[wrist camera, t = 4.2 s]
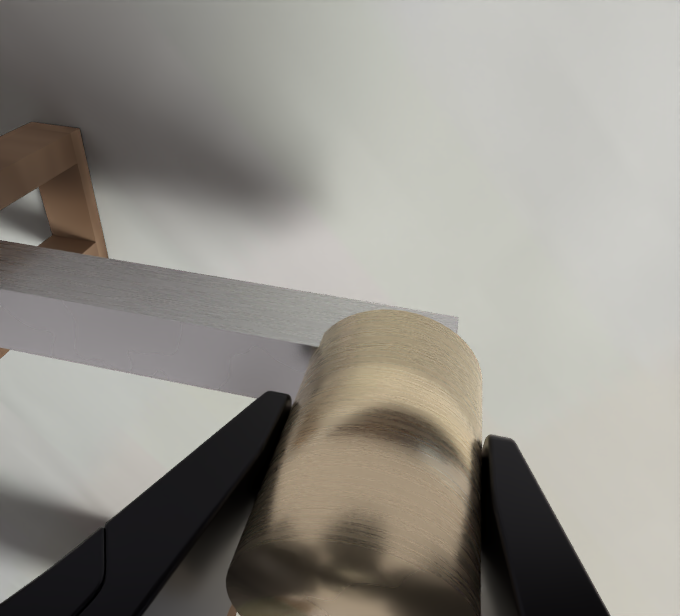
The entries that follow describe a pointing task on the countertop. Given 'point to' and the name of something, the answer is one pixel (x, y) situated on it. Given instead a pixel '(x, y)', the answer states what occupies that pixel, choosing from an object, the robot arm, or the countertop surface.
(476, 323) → the countertop surface
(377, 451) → the rod
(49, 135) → the block
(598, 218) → the countertop surface
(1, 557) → the countertop surface
